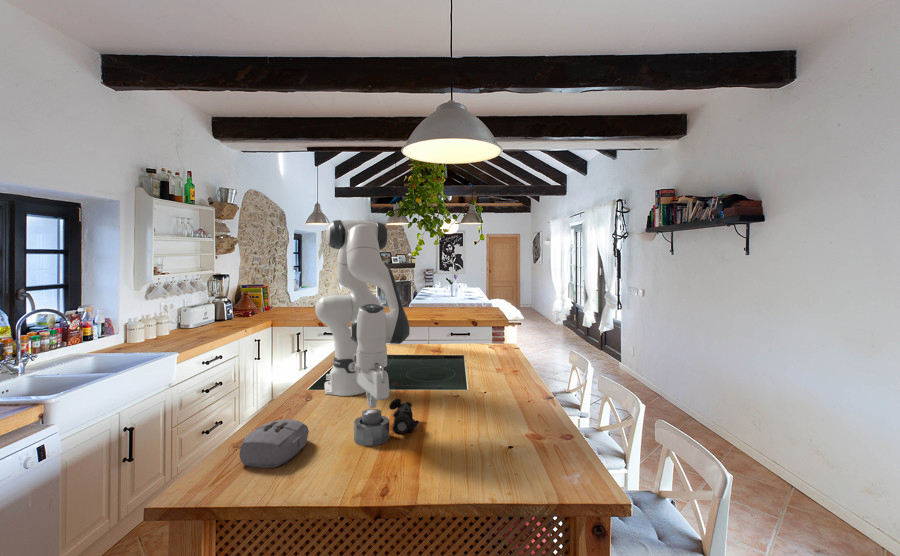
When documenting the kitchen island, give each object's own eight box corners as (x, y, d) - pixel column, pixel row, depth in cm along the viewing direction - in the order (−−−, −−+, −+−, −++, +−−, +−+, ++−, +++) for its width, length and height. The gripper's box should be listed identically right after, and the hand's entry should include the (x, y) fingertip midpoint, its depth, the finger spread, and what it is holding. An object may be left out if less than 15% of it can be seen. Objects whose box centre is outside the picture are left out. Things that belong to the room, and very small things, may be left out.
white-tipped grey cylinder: (359, 425, 133) (359, 410, 133) (377, 422, 136) (377, 407, 136) (365, 432, 128) (365, 415, 128) (383, 428, 131) (383, 412, 131)
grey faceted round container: (350, 436, 134) (350, 418, 134) (382, 430, 139) (382, 412, 139) (360, 448, 125) (360, 429, 125) (393, 441, 130) (393, 423, 130)
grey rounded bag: (286, 471, 112) (318, 439, 132) (285, 438, 112) (318, 411, 132) (230, 467, 114) (270, 436, 134) (229, 435, 114) (270, 409, 133)
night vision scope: (403, 449, 131) (377, 428, 130) (406, 427, 149) (383, 408, 148) (421, 428, 131) (395, 407, 130) (421, 409, 149) (398, 390, 148)
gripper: (394, 366, 123) (394, 415, 124) (371, 352, 141) (371, 395, 142) (372, 368, 120) (373, 419, 121) (351, 354, 138) (351, 398, 139)
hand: (372, 406), depth 132 cm, fingers closed
